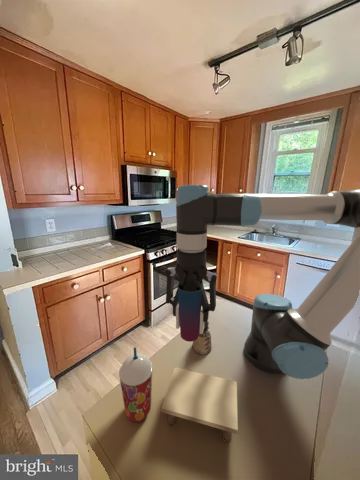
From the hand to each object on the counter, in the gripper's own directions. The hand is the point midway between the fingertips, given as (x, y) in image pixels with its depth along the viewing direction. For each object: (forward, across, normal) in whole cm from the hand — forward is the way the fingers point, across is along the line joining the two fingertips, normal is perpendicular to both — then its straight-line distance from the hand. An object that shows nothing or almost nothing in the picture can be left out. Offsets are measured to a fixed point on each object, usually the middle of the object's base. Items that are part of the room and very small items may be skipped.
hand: (190, 328), depth 55 cm
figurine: (+21, 0, -17) cm, 27 cm away
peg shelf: (+21, -5, +6) cm, 22 cm away
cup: (+2, 0, 0) cm, 2 cm away
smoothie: (+21, +11, +10) cm, 26 cm away
